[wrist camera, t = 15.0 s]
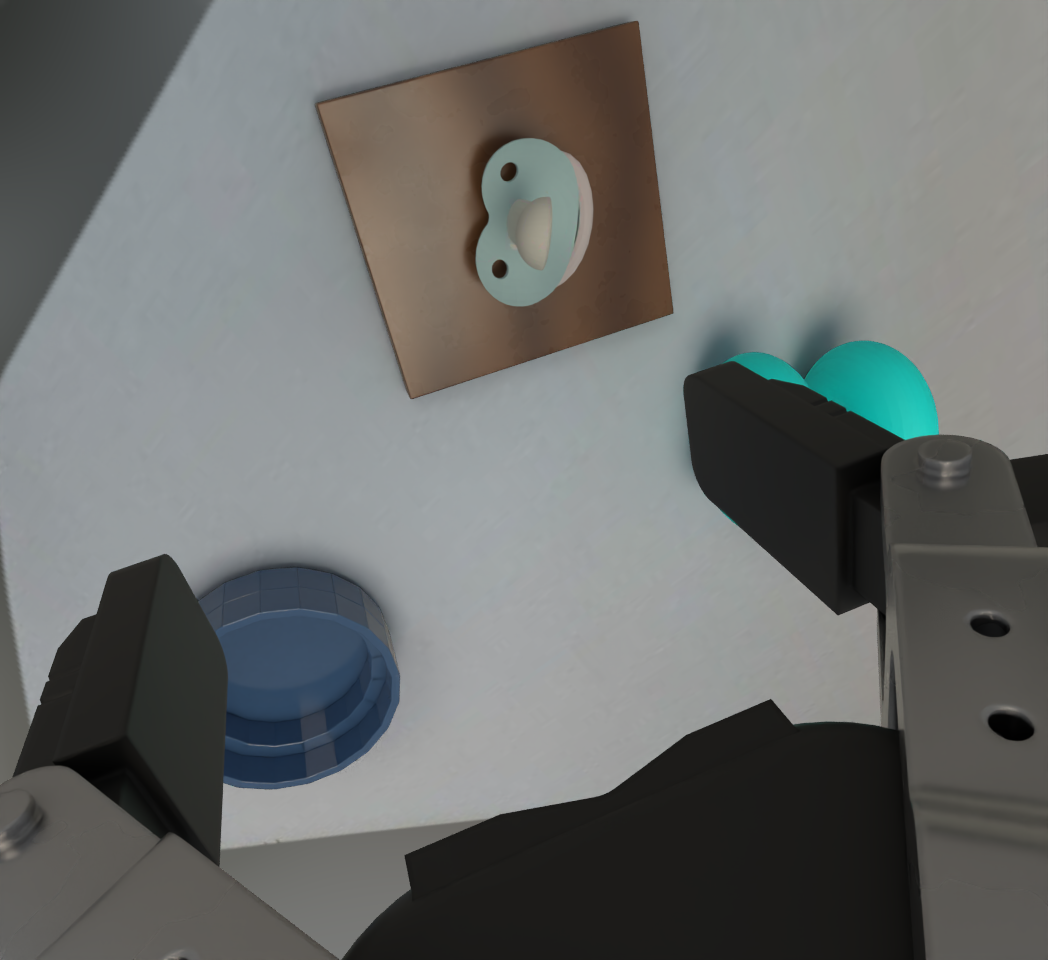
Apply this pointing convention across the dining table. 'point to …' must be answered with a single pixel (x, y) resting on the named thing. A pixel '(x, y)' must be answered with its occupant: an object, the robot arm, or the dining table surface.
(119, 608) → the robot arm
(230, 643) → the bowl
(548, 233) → the pacifier
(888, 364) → the donuts
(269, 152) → the dining table surface
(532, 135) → the board
